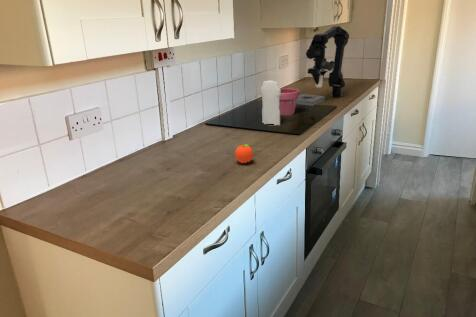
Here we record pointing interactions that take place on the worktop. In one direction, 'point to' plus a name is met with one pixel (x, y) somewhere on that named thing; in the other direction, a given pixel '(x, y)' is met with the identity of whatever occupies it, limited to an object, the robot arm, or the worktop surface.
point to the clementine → (244, 153)
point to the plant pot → (288, 101)
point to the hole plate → (310, 99)
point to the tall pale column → (270, 102)
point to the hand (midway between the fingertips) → (318, 83)
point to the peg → (320, 82)
